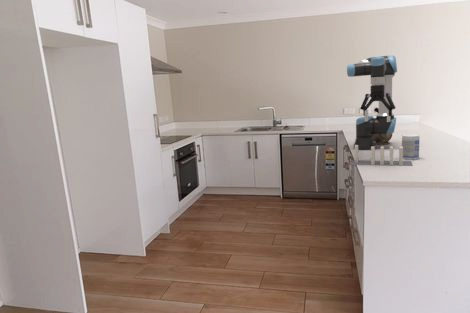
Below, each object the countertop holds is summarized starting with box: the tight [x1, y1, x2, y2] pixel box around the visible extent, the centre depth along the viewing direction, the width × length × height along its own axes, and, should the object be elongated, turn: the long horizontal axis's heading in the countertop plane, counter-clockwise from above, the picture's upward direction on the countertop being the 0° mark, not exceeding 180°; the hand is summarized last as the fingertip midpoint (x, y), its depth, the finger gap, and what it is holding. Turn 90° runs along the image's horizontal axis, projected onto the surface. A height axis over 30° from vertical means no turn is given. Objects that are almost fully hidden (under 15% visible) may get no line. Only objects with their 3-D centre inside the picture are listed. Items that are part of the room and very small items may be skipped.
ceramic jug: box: [373, 107, 393, 145], centre depth 266 cm, size 17×15×30 cm
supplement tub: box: [401, 133, 420, 161], centre depth 212 cm, size 10×10×15 cm
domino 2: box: [370, 145, 376, 166], centre depth 205 cm, size 5×2×10 cm, turn 157°
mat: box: [349, 159, 414, 167], centre depth 207 cm, size 13×34×1 cm, turn 67°
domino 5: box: [398, 145, 404, 165], centre depth 199 cm, size 5×2×10 cm, turn 157°
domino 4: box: [389, 146, 394, 165], centre depth 201 cm, size 5×2×10 cm, turn 157°
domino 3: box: [379, 146, 385, 166], centre depth 203 cm, size 5×2×10 cm, turn 157°
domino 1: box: [354, 145, 359, 162], centre depth 214 cm, size 5×2×10 cm, turn 157°
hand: (377, 121), depth 204 cm, fingers open, 13 cm apart
